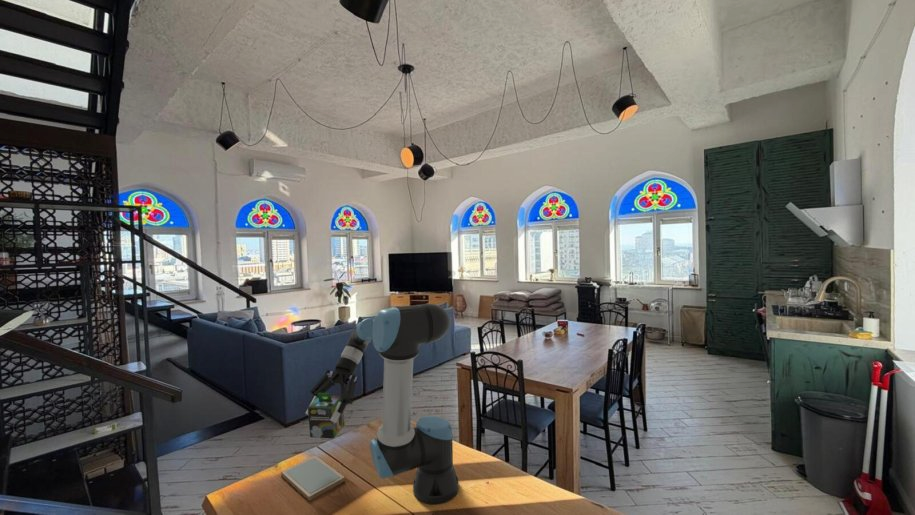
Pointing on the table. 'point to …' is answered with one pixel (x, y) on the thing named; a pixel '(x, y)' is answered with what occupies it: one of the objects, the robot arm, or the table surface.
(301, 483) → the slate board
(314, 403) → the chalk box
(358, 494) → the table surface
